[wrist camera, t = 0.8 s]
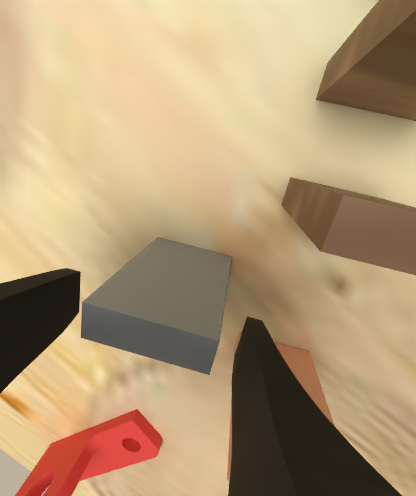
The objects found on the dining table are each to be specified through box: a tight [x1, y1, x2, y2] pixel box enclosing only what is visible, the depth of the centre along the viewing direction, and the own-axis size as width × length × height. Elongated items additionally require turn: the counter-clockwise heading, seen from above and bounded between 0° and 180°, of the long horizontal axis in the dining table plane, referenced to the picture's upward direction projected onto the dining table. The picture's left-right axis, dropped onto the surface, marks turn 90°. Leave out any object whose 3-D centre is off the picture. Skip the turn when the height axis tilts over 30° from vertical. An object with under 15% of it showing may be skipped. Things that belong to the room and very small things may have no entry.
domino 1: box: [227, 333, 334, 481], centre depth 14 cm, size 2×5×8 cm, turn 77°
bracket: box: [15, 409, 162, 496], centre depth 20 cm, size 12×4×8 cm, turn 124°
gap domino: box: [81, 238, 232, 375], centre depth 13 cm, size 2×5×8 cm, turn 77°
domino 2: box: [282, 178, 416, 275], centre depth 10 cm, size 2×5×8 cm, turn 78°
